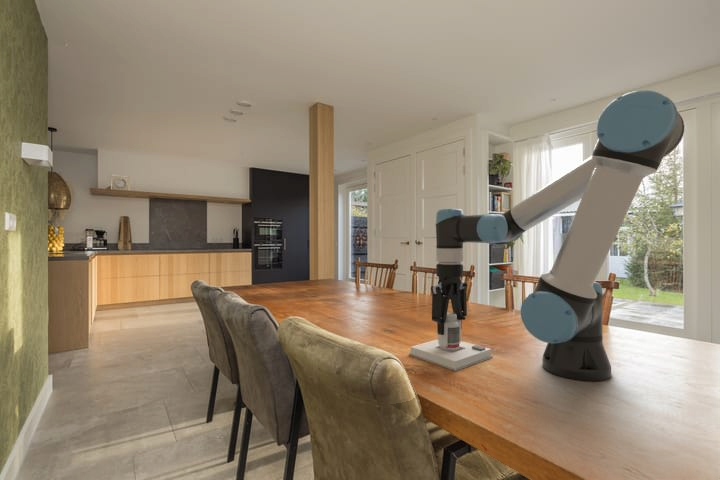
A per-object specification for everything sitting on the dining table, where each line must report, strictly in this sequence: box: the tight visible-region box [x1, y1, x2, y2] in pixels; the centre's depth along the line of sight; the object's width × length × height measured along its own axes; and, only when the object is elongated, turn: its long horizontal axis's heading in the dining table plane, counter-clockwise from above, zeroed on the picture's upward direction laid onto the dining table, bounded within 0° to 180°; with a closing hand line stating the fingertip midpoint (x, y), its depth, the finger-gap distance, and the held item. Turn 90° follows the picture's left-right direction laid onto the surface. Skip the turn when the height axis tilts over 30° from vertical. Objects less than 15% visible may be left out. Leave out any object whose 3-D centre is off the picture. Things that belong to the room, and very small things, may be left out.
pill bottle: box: [440, 312, 459, 350], centre depth 105 cm, size 5×5×10 cm
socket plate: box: [408, 338, 493, 372], centre depth 105 cm, size 17×17×3 cm
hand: (449, 343), depth 105 cm, fingers closed on pill bottle, 5 cm apart
